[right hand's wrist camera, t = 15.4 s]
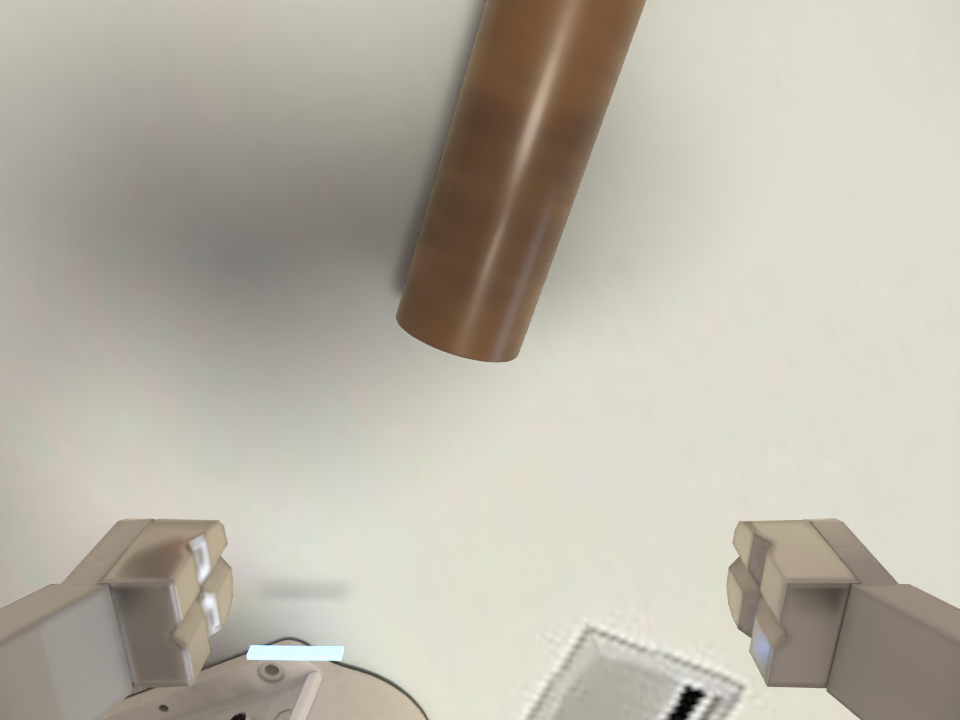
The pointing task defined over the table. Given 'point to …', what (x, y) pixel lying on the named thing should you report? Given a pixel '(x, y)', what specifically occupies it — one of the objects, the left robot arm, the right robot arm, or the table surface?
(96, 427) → the table surface
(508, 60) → the rod
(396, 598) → the table surface
